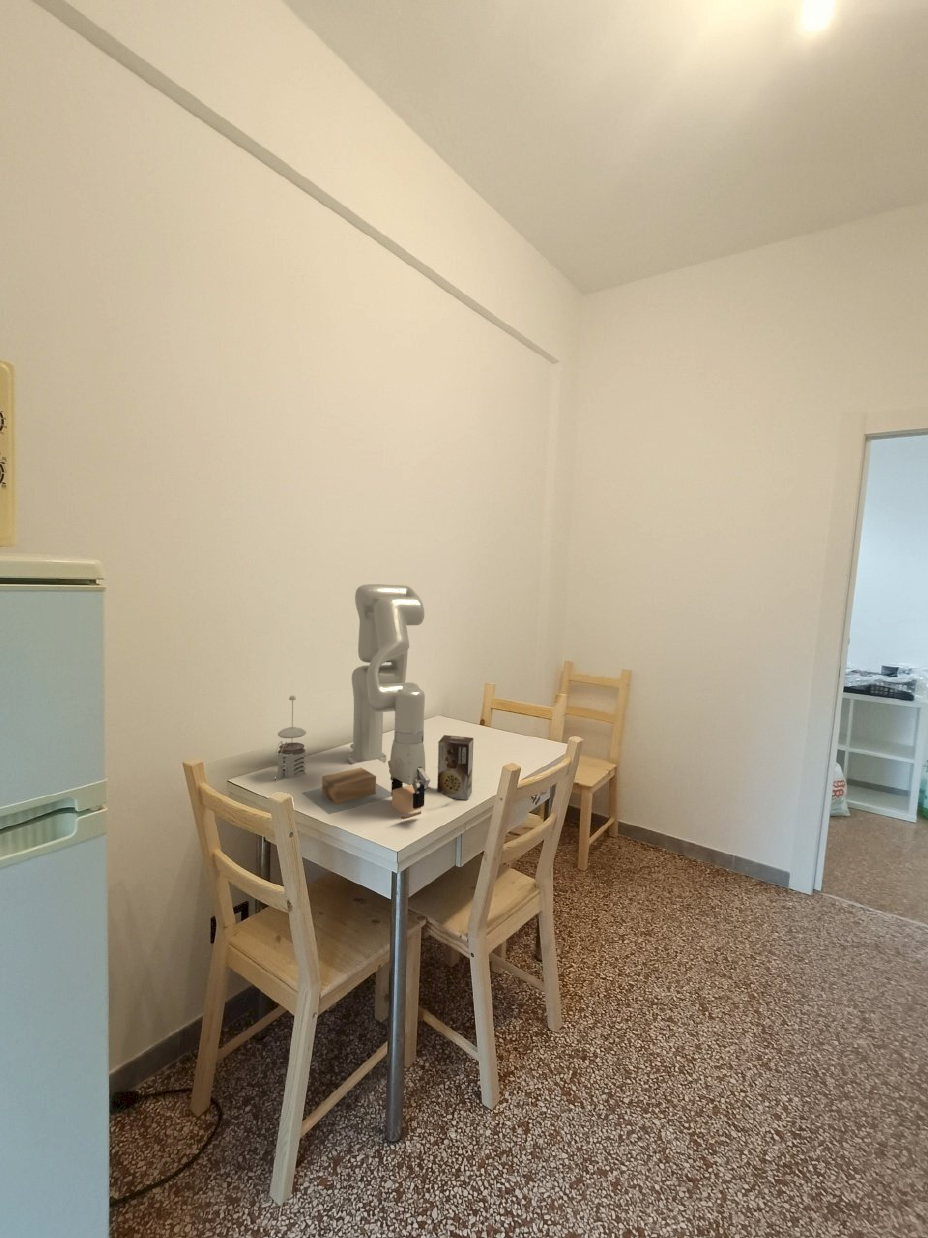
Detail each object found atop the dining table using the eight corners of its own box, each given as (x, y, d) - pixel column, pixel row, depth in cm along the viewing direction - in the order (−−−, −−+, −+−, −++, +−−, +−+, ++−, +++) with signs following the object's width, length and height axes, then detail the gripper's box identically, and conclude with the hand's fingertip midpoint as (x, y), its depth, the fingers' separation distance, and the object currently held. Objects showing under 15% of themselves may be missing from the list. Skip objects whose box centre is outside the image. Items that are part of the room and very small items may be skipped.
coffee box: (472, 791, 158) (474, 737, 156) (467, 800, 151) (469, 744, 150) (442, 788, 160) (444, 734, 158) (435, 796, 153) (438, 740, 152)
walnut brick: (322, 794, 148) (322, 776, 148) (360, 784, 156) (361, 767, 155) (336, 804, 142) (336, 786, 142) (375, 793, 150) (376, 776, 149)
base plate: (301, 798, 149) (301, 793, 148) (365, 782, 162) (365, 777, 162) (328, 819, 137) (329, 814, 136) (395, 800, 150) (395, 795, 149)
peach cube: (391, 812, 143) (392, 789, 142) (409, 806, 146) (409, 785, 146) (403, 819, 138) (404, 797, 138) (421, 814, 142) (421, 792, 142)
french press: (314, 774, 166) (316, 693, 164) (293, 788, 155) (294, 702, 153) (286, 770, 169) (287, 690, 167) (263, 783, 158) (264, 698, 155)
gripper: (378, 731, 144) (377, 794, 146) (416, 747, 131) (415, 816, 133) (402, 726, 149) (400, 787, 151) (441, 742, 136) (439, 808, 138)
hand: (407, 801), depth 142 cm, fingers open, 9 cm apart
